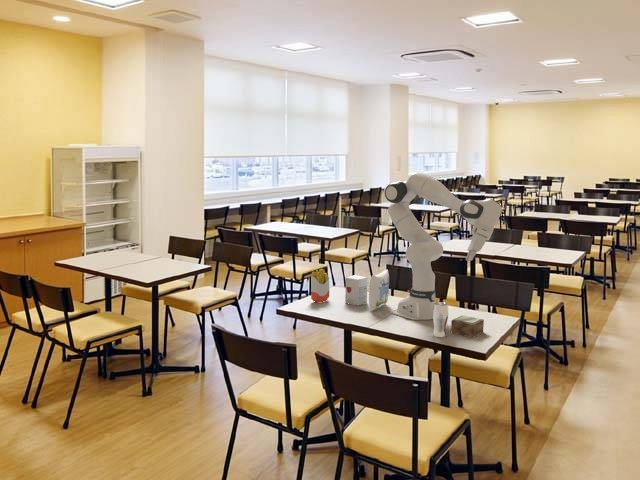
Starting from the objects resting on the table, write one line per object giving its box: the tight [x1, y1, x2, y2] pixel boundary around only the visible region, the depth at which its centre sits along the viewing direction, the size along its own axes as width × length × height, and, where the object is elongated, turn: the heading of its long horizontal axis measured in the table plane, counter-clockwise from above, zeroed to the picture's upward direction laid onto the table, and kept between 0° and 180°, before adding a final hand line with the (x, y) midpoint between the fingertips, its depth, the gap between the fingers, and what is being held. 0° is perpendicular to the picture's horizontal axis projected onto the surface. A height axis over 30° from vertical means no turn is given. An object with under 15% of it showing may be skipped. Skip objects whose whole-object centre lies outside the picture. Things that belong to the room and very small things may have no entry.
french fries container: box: [310, 268, 330, 303], centre depth 322 cm, size 5×11×18 cm, turn 139°
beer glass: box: [432, 301, 449, 339], centre depth 262 cm, size 7×7×15 cm
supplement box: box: [344, 274, 369, 306], centre depth 319 cm, size 9×9×15 cm
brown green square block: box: [450, 315, 485, 338], centre depth 268 cm, size 11×11×6 cm
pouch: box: [368, 268, 390, 312], centre depth 310 cm, size 8×19×20 cm, turn 146°
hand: (468, 260), depth 267 cm, fingers open, 8 cm apart
